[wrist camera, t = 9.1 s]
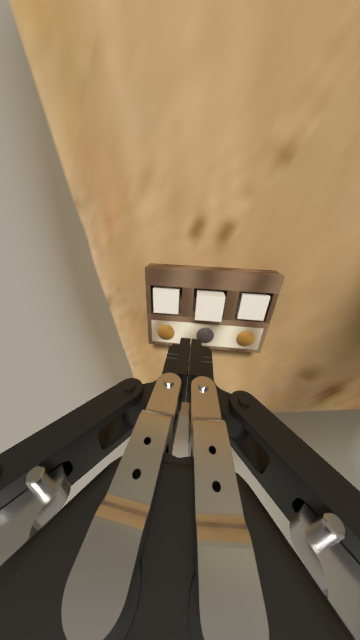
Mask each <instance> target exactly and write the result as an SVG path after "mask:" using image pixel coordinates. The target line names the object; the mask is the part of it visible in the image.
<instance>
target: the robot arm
mask: <svg viewBox="0 0 360 640" xmlns="http://www.w3.org/2000/svg"><path fill="white" fill-rule="evenodd" d="M190 343H191V351H190ZM189 356H190V361H189ZM188 367H189V372H188ZM187 377H188V384H187ZM186 387H187V397H186ZM185 397H186V402H189V413H188V443H189V444H188V445H189V446H188V457H183V458H177V457H175V456H173V455H172V450H173V444H174V439H175V433H176V429H177V424H178V419H179V414H180V410H181V404H182V402H185ZM128 437H130V439H129V441H128V444H127V446H126V449H125V451H124V454H123V456H121V457H119V458H118V459H116V460H115V461H113V462H112V463H110V464H109V465H108V466H107V467H106V468H105V469H104V470H103V471H102V472H100V473H99V474H98V475H97V476H96V477H95V478H94V479H93V480H92V481H91V482H90V483H89V484H88V485H87V486H86V487H84V488H83V489H82V490H81V491H80V492H79V493H78V494H77V495H76V496H75V497H74V498H73V499H72V500H71V501H69V502H68V503H67V504H66V505H65V506H64V507H63V508H62V506H63V505H64V503H65V502H66V500H67V498H68V496H69V493H70V488H71V486H72V485H73V484H74V483H75V482H76V481H77V480H79V479H80V478H81V477H82V476H83V475H84V474H86V473H87V472H88V471H89V470H91V469H92V468H93V467H94V466H95V465H96V464H98V463H99V462H100V461H101V460H102V459H104V458H105V457H106V456H107V455H108V454H110V453H111V452H112V451H113V450H114V449H115V448H117V447H118V446H119V445H120V444H121V443H123V442H124V441H125V440H126V439H127V438H128ZM230 445H231V447H232V448H233V449H234V451H235V452H236V453H237V454H238V456H239V457H240V458H241V459H242V461H243V462H244V463H245V465H246V466H247V467H248V469H249V470H250V471H251V472H252V474H253V475H254V476H255V478H256V479H257V480H258V482H259V483H260V484H261V485H262V487H263V488H264V489H265V491H266V492H267V493H268V494H269V496H270V497H271V498H272V500H273V501H274V502H275V503H276V505H277V506H278V507H279V508H280V510H281V511H282V512H283V514H284V515H285V516H286V518H287V519H288V520H289V521H290V533H291V538H292V541H293V544H294V546H295V548H296V550H297V552H298V553H299V555H300V557H301V558H302V560H303V561H304V563H305V565H304V564H303V563H302V561H301V560H300V558H299V557H298V555H297V554H296V553H295V551H294V550H293V548H292V547H291V545H290V544H289V543H288V541H287V540H286V538H285V537H284V535H283V534H282V532H281V531H280V529H279V528H278V527H277V525H276V524H275V522H274V521H273V519H272V518H271V516H270V515H269V513H268V512H267V511H266V509H265V508H264V506H263V505H262V503H261V502H260V500H259V499H258V498H257V496H256V495H255V493H254V492H253V490H252V489H251V488H250V486H249V485H248V484H247V483H246V481H244V479H243V478H242V477H241V476H240V475H239V474H237V473H236V472H235V468H234V463H233V458H232V452H231V447H230ZM61 508H62V509H61ZM60 509H61V510H60ZM59 510H60V511H59ZM58 511H59V512H58ZM57 512H58V513H57ZM56 513H57V514H56ZM305 566H306V567H305ZM0 640H360V491H359V490H357V489H356V488H355V487H354V486H353V485H352V484H351V483H350V482H349V481H347V480H346V479H345V478H344V477H343V476H342V475H341V474H340V473H339V472H337V471H336V470H335V469H334V468H333V467H332V466H331V465H330V464H328V463H327V462H326V461H325V460H324V459H323V458H322V457H321V456H319V455H318V454H317V453H316V452H315V451H314V450H313V449H312V448H311V447H309V446H308V445H307V444H306V443H305V442H303V440H302V439H301V438H299V437H298V436H297V435H296V434H295V433H294V432H293V431H292V430H290V429H289V428H288V427H287V426H286V425H285V424H284V423H282V422H281V421H280V420H279V419H278V418H277V417H276V416H275V415H274V414H273V413H271V412H270V411H269V410H268V409H267V408H266V407H265V406H264V405H262V404H261V403H260V402H259V401H258V400H257V399H256V398H255V397H254V396H252V395H251V394H249V393H248V392H245V391H235V392H233V393H232V394H230V393H228V392H225V391H223V390H221V389H220V388H218V387H217V385H216V384H215V382H214V378H213V364H212V352H211V350H210V349H209V347H204V346H202V339H192V340H191V338H181V340H180V344H172V345H171V346H170V347H169V350H168V354H167V358H166V361H165V365H164V369H163V372H162V375H161V376H159V378H158V379H157V380H156V381H154V382H152V383H146V384H142V383H141V381H140V380H138V379H135V378H129V379H126V380H123V381H122V382H120V383H118V384H117V385H115V386H114V387H112V388H110V389H108V390H106V391H105V392H103V393H102V394H100V395H98V396H96V397H95V398H93V399H91V400H90V401H88V402H86V403H85V404H83V405H82V406H80V407H78V408H76V409H75V410H73V411H71V412H70V413H68V414H66V415H65V416H63V417H61V418H60V419H58V420H57V421H55V422H53V423H51V424H50V425H48V426H46V427H45V428H43V429H41V430H40V431H38V432H36V433H35V434H33V435H31V436H30V437H28V438H26V439H24V440H23V441H21V442H19V443H18V444H16V445H15V446H13V447H11V448H9V449H8V450H6V451H4V452H3V453H1V454H0Z"/></svg>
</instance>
